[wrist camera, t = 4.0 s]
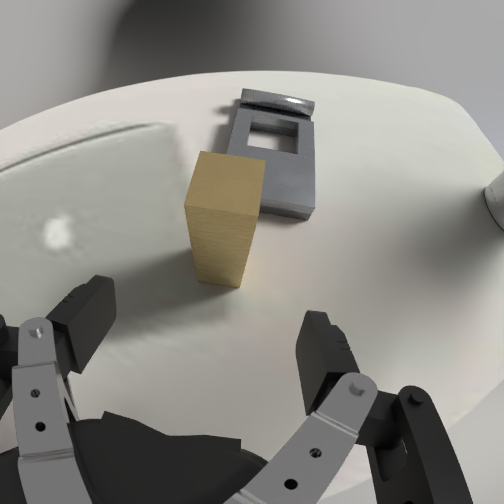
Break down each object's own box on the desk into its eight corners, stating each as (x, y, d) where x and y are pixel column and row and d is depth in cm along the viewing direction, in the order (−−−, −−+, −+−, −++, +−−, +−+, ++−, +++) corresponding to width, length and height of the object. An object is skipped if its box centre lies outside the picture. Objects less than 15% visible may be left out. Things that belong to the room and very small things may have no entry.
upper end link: (308, 135, 33) (313, 121, 31) (307, 220, 28) (315, 207, 26) (236, 122, 33) (238, 107, 30) (217, 205, 27) (217, 190, 25)
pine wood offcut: (245, 249, 26) (265, 160, 15) (239, 287, 24) (258, 216, 14) (205, 243, 26) (200, 150, 15) (198, 281, 24) (183, 204, 13)
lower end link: (307, 110, 35) (313, 92, 32) (308, 181, 30) (317, 162, 27) (243, 98, 35) (245, 79, 32) (225, 166, 29) (227, 146, 27)
